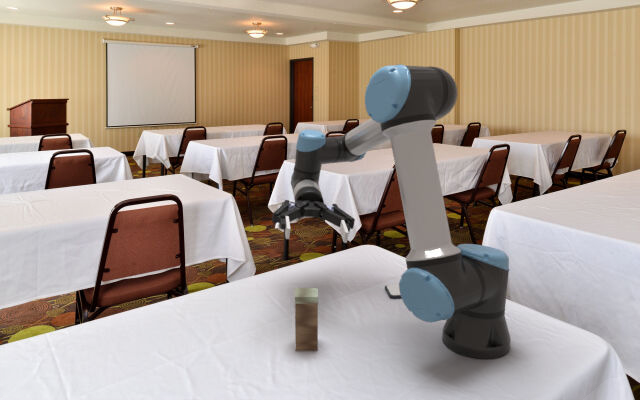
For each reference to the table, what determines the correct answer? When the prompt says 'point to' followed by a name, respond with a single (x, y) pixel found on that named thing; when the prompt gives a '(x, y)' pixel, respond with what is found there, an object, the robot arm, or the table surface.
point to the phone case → (393, 291)
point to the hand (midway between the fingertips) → (317, 235)
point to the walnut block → (306, 319)
